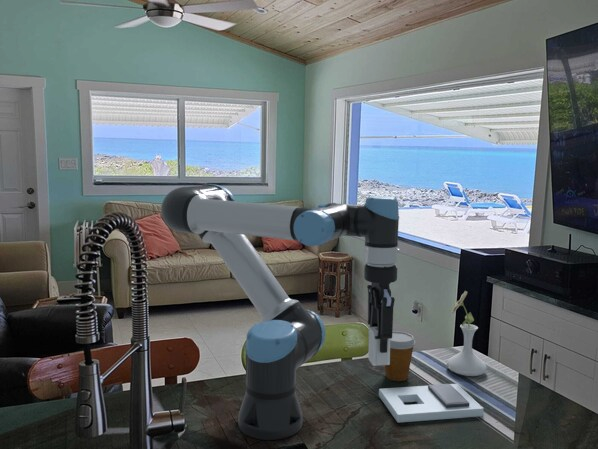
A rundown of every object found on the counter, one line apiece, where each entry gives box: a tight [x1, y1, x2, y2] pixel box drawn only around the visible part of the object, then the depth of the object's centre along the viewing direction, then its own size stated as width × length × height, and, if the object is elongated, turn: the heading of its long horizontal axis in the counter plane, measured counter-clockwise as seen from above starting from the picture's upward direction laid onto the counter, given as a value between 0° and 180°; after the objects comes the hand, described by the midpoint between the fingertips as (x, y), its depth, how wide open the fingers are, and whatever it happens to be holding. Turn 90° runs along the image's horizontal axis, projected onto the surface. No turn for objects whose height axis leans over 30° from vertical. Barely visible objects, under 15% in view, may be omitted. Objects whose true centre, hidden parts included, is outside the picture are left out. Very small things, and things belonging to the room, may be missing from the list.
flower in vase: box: [446, 290, 488, 377], centre depth 155 cm, size 13×11×25 cm
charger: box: [367, 326, 390, 367], centre depth 125 cm, size 4×4×8 cm
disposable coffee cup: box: [384, 330, 416, 382], centre depth 152 cm, size 10×10×12 cm
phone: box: [427, 383, 469, 408], centre depth 136 cm, size 6×11×1 cm, turn 10°
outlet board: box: [378, 383, 485, 423], centre depth 135 cm, size 22×14×2 cm, turn 100°
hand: (378, 360), depth 126 cm, fingers closed on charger, 4 cm apart
